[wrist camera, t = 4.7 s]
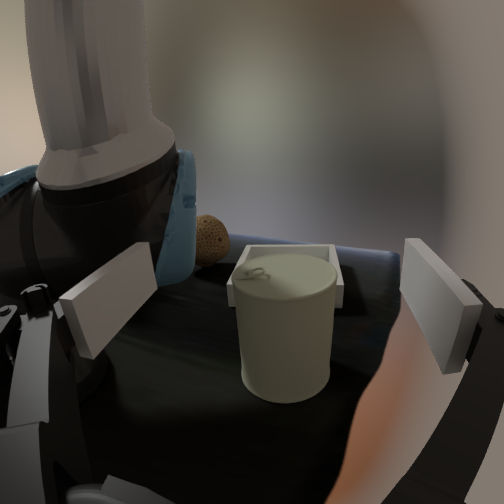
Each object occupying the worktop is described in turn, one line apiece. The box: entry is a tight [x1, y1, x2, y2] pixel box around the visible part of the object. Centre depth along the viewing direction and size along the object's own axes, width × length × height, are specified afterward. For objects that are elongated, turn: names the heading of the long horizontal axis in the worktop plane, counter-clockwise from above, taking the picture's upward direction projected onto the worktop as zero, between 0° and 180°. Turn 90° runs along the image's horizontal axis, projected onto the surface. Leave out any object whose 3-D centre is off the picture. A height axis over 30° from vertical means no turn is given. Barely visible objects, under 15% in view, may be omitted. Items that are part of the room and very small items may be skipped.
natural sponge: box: [195, 215, 230, 267], centre depth 56 cm, size 9×9×10 cm
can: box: [231, 253, 338, 403], centre depth 28 cm, size 9×9×12 cm
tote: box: [227, 244, 344, 308], centre depth 49 cm, size 16×16×4 cm
